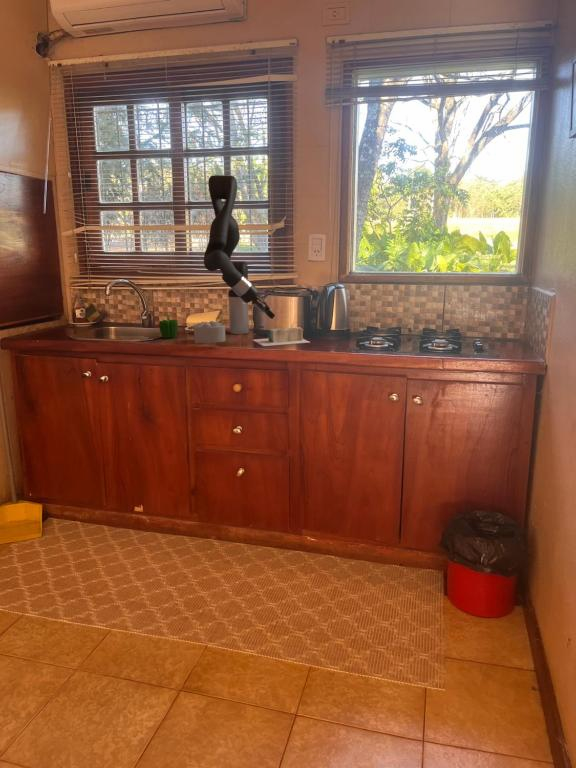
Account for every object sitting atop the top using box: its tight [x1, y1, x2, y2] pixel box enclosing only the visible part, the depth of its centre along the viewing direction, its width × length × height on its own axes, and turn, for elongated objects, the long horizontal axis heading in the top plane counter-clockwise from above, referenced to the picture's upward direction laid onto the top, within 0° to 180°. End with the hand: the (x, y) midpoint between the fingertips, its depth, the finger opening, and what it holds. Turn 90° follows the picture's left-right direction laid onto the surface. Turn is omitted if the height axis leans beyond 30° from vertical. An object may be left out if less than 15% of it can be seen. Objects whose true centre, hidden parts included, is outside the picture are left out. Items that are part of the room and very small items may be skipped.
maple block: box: [267, 326, 304, 343], centre depth 235 cm, size 5×5×14 cm
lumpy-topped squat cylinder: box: [193, 320, 226, 345], centre depth 238 cm, size 10×13×9 cm
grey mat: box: [252, 338, 310, 347], centre depth 235 cm, size 16×21×1 cm
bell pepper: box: [158, 315, 179, 339], centre depth 248 cm, size 8×8×10 cm
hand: (273, 317), depth 231 cm, fingers closed
